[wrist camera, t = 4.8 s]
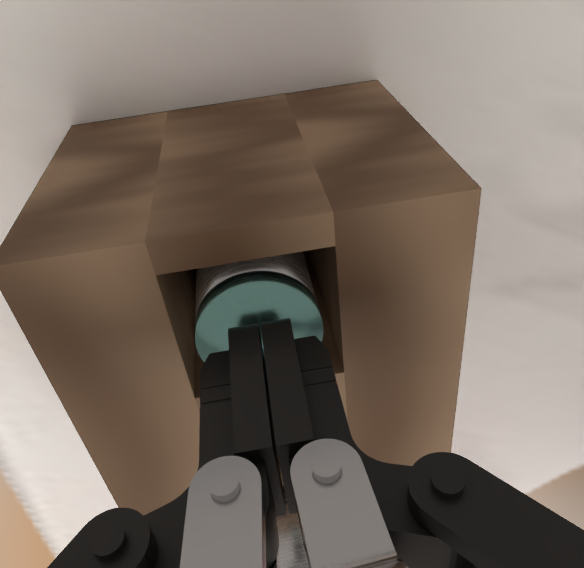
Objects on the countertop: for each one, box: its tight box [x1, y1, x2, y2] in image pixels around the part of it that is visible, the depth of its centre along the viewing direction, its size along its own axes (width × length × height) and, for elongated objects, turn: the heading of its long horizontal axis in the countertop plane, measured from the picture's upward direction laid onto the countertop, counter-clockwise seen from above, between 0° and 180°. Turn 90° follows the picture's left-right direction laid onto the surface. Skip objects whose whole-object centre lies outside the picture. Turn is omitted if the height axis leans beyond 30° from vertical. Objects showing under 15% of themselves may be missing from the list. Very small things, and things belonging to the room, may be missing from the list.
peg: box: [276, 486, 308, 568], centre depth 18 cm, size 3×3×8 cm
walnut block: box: [0, 80, 481, 516], centre depth 20 cm, size 11×15×9 cm
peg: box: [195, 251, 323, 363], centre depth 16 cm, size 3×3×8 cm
